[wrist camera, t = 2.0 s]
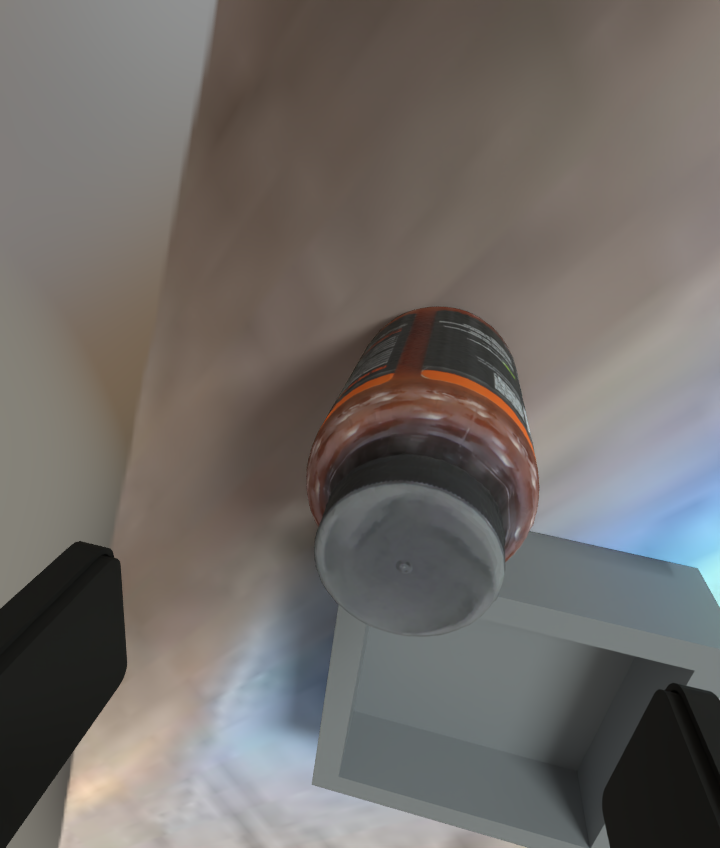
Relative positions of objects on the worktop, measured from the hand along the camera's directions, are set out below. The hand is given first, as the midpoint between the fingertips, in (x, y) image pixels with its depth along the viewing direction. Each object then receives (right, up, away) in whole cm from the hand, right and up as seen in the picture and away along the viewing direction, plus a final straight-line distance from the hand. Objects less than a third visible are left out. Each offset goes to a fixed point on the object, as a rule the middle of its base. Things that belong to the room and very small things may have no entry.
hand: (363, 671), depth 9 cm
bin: (+6, -6, +17) cm, 19 cm away
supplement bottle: (+3, +6, +12) cm, 14 cm away
